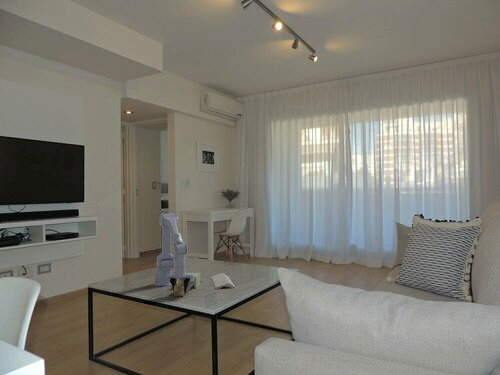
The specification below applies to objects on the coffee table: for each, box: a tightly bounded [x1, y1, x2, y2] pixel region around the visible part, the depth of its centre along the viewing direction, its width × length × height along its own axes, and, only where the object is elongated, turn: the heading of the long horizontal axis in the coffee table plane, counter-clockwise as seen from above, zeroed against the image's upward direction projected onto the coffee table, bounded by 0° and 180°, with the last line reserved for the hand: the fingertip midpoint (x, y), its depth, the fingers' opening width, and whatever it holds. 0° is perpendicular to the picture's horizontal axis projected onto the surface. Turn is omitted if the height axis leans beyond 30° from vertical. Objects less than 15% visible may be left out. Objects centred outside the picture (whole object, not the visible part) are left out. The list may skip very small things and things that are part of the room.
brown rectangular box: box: [173, 280, 191, 297], centre depth 191 cm, size 5×12×5 cm, turn 175°
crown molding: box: [210, 272, 237, 290], centre depth 215 cm, size 29×12×4 cm, turn 12°
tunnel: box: [178, 272, 201, 289], centre depth 207 cm, size 10×10×7 cm
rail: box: [175, 283, 194, 298], centre depth 199 cm, size 3×30×1 cm, turn 175°
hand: (180, 292), depth 188 cm, fingers closed on brown rectangular box, 5 cm apart
